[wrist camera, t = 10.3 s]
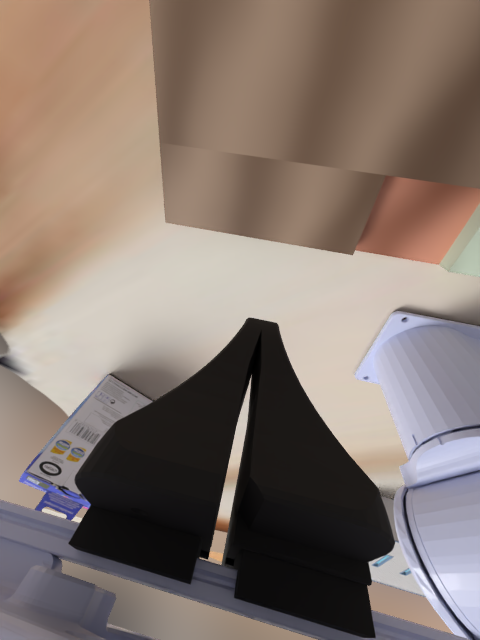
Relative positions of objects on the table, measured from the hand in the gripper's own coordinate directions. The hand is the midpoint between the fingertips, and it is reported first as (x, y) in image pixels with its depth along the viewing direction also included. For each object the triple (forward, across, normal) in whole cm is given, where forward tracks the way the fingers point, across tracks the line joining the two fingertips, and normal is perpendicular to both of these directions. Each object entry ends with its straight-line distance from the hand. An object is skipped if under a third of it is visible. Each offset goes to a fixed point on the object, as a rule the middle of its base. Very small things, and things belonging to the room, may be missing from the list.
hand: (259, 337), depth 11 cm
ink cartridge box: (+10, +16, +24) cm, 30 cm away
